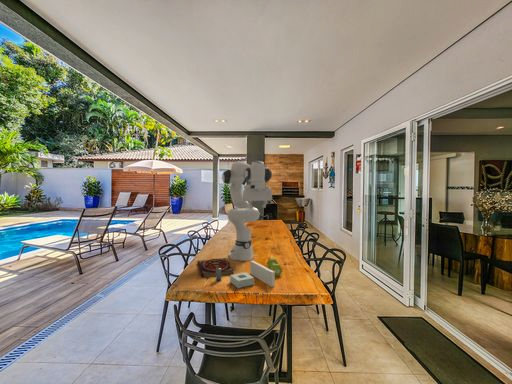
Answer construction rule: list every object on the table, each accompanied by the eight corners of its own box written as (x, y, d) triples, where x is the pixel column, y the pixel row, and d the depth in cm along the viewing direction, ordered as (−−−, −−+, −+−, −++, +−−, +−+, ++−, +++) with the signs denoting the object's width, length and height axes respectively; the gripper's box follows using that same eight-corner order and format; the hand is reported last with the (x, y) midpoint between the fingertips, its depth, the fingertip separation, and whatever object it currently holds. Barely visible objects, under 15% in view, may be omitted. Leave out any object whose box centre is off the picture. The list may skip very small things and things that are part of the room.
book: (197, 265, 180) (197, 258, 180) (226, 262, 186) (226, 255, 186) (201, 279, 153) (201, 271, 153) (235, 275, 159) (235, 267, 159)
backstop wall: (250, 273, 160) (250, 261, 160) (253, 273, 161) (253, 260, 161) (271, 286, 140) (271, 272, 140) (274, 286, 141) (274, 271, 141)
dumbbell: (266, 268, 172) (266, 257, 171) (277, 268, 172) (277, 257, 172) (270, 277, 155) (270, 265, 155) (282, 276, 156) (283, 265, 156)
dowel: (215, 280, 149) (215, 268, 149) (220, 279, 150) (220, 267, 150) (217, 281, 146) (217, 269, 146) (222, 280, 148) (222, 269, 148)
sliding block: (230, 282, 146) (230, 275, 145) (245, 278, 151) (245, 272, 151) (238, 288, 137) (238, 280, 137) (253, 284, 142) (254, 277, 142)
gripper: (268, 186, 168) (268, 207, 168) (241, 186, 157) (241, 208, 157) (274, 186, 162) (274, 207, 163) (246, 186, 152) (246, 209, 152)
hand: (257, 208), depth 160 cm, fingers open, 8 cm apart
